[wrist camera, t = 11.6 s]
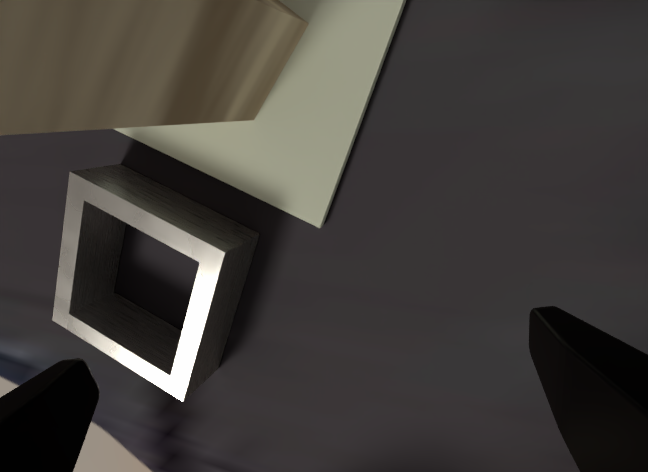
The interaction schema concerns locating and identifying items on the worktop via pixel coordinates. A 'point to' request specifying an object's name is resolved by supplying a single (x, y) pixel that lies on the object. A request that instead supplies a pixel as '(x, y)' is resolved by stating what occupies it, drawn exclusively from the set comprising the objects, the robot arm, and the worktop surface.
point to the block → (139, 62)
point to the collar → (121, 314)
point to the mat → (296, 112)
